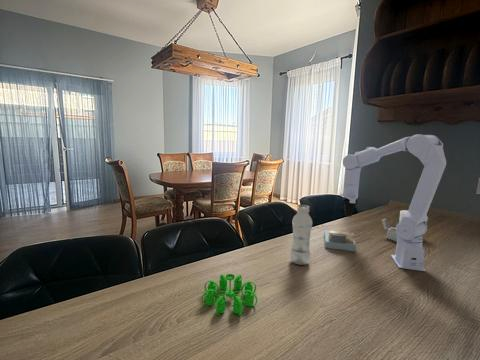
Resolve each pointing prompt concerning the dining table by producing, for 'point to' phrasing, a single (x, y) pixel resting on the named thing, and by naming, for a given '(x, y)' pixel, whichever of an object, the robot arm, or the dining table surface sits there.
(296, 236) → the plastic bottle
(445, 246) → the dining table surface
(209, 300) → the chandelier
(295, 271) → the dining table surface
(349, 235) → the folding leg
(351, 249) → the blue-grey block
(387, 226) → the lighter
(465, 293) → the dining table surface
